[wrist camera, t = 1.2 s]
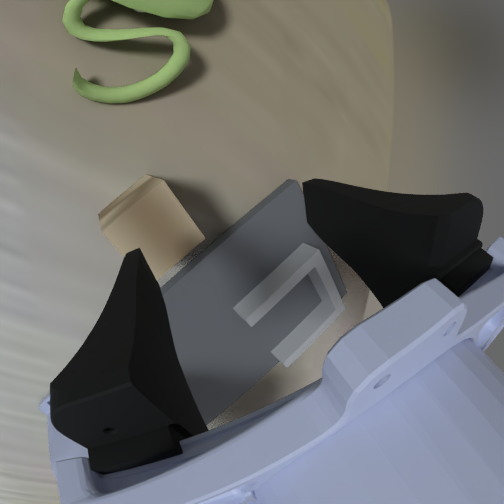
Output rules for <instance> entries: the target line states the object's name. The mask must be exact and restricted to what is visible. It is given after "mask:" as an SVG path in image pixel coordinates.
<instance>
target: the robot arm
mask: <svg viewBox="0 0 504 504" xmlns="http://www.w3.org/2000/svg"><path fill="white" fill-rule="evenodd" d="M302 184H303V192H304V201H305V209H306V218H307V223H308V224H309V226H310V227H311V228H312V229H313V231H314V232H315V233H316V234H317V235H318V237H319V238H320V239H321V240H322V241H323V242H324V243H325V244H327V245H328V246H329V247H330V248H331V249H332V250H333V251H334V252H335V253H336V254H337V255H338V256H340V257H341V258H342V259H343V260H344V261H345V262H346V263H347V264H348V265H349V266H350V267H351V268H352V269H353V270H354V271H355V272H356V273H357V274H358V275H359V276H360V278H361V279H362V280H363V281H364V282H365V284H366V285H367V286H368V287H369V289H370V290H371V291H372V293H373V294H374V295H375V297H376V298H377V299H378V301H379V302H380V303H381V305H382V306H383V309H382V310H380V311H379V312H377V313H375V314H374V315H372V316H370V317H369V318H367V319H366V320H364V321H362V322H361V323H359V324H357V325H356V326H354V327H353V328H352V329H351V330H349V331H348V332H347V333H345V334H344V335H343V336H341V337H340V338H339V339H338V341H337V342H336V343H335V344H334V345H333V347H332V348H331V349H330V350H329V351H328V353H327V356H326V359H325V361H324V364H323V368H322V378H320V379H319V380H317V381H315V382H313V383H311V384H309V385H307V386H306V387H304V388H302V389H300V390H298V391H296V392H294V393H292V394H290V395H288V396H286V397H284V398H282V399H280V400H278V401H276V402H274V403H272V404H270V405H267V406H265V407H263V408H261V409H259V410H257V411H254V412H252V413H250V414H248V415H245V416H243V417H241V418H238V419H236V420H234V421H231V422H229V423H227V424H224V425H222V426H219V427H217V428H214V429H211V430H208V428H207V426H206V424H205V422H204V420H203V418H202V416H201V414H200V411H199V409H198V407H197V405H196V403H195V400H194V398H193V396H192V393H191V391H190V388H189V386H188V383H187V381H186V378H185V376H184V373H183V371H182V368H181V365H180V363H179V360H178V357H177V353H176V350H175V346H174V341H173V337H172V332H171V328H170V323H169V318H168V314H167V309H166V305H165V301H164V298H163V295H162V292H161V289H160V286H159V284H158V282H157V280H156V278H155V276H154V274H153V273H152V271H151V269H150V267H149V265H148V263H147V261H146V259H145V257H144V255H143V253H142V251H141V249H140V247H139V248H137V249H135V250H133V251H130V252H128V253H126V255H125V257H124V260H123V262H122V265H121V268H120V271H119V274H118V276H117V279H116V282H115V284H114V287H113V289H112V292H111V294H110V296H109V299H108V301H107V303H106V305H105V308H104V310H103V312H102V313H101V315H100V317H99V319H98V321H97V323H96V324H95V326H94V328H93V329H92V331H91V332H90V334H89V336H88V337H87V339H86V340H85V342H84V343H83V345H82V346H81V348H80V349H79V350H78V352H77V353H76V354H75V356H74V357H73V358H72V360H71V361H70V362H69V363H68V364H67V366H66V367H65V368H64V369H63V370H62V371H61V372H60V374H59V375H58V376H57V377H56V378H55V379H54V380H53V381H52V382H51V383H50V394H49V395H48V396H47V397H46V398H45V399H44V400H43V401H42V402H41V403H40V404H39V409H40V411H42V412H43V413H45V414H46V415H47V424H48V440H49V452H50V461H51V467H52V470H53V473H54V475H55V477H56V479H57V484H58V491H59V496H60V502H61V504H504V373H503V372H502V371H501V370H500V369H499V368H498V367H497V366H496V365H495V364H494V363H493V362H492V361H491V359H490V358H489V357H488V356H487V355H486V354H484V351H485V350H486V348H487V347H488V346H489V345H490V344H491V342H492V341H493V340H494V339H495V337H496V336H497V335H498V334H499V332H500V331H501V330H502V329H503V327H504V239H503V238H502V237H499V238H498V239H497V240H496V241H494V242H493V243H492V244H491V245H490V246H489V247H488V249H487V251H484V250H483V249H482V248H481V247H482V242H481V241H479V240H478V239H477V237H478V233H479V230H480V226H481V222H482V217H483V205H482V202H481V200H480V199H478V198H477V197H475V196H473V195H472V194H469V193H459V194H447V195H413V194H400V193H392V192H384V191H378V190H373V189H367V188H362V187H357V186H353V185H348V184H343V183H339V182H334V181H329V180H323V179H312V180H309V181H306V182H303V183H302ZM48 401H50V402H48Z"/></svg>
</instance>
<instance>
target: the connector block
mask: <svg viewBox="0 0 504 504" xmlns="http://www.w3.org/2000/svg"><path fill="white" fill-rule="evenodd" d="M98 216H99V221H100V225H101V230H102V233H103V234H104V235H105V236H106V237H107V239H108V240H109V241H110V242H111V243H112V244H113V246H114V247H115V248H116V249H117V250H118V251H119V252H120V254H121V255H122V256H123V257H125V255H126V253H128V252H130V251H133V250H135V249H137V248H139V247H140V249H141V251H142V253H143V255H144V257H145V259H146V261H147V263H148V265H149V267H150V269H151V271H152V273H153V274H154V276H155V278H156V280H158V279H159V278H160V277H162V276H163V275H164V274H165V273H166V272H167V271H168V270H170V269H171V268H172V267H173V266H174V265H175V264H176V263H178V262H179V261H180V260H181V259H182V258H183V257H184V256H186V255H187V254H188V253H189V252H190V251H191V250H193V249H194V248H195V247H196V246H197V245H198V244H200V243H201V242H202V241H203V240H204V239H205V237H204V235H203V234H202V233H201V231H200V230H199V229H198V227H197V226H196V224H195V223H194V222H193V220H192V219H191V218H190V216H189V215H188V213H187V212H186V211H185V209H184V208H183V206H182V205H181V204H180V202H179V201H178V199H177V198H176V197H175V195H174V194H173V192H172V191H171V190H170V188H169V187H168V185H167V184H166V183H165V181H164V180H162V179H159V178H155V177H152V176H149V175H144V176H143V177H142V178H141V179H139V180H138V181H137V182H136V183H134V184H133V185H132V186H131V187H129V188H128V189H127V190H126V191H125V192H123V193H122V194H121V195H120V196H119V197H117V198H116V199H115V200H114V201H113V202H112V203H110V204H109V205H108V206H107V207H106V208H105V209H104V210H102V211H101V212H100V213H99V214H98Z"/></svg>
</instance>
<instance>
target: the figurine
mask: <svg viewBox="0 0 504 504" xmlns="http://www.w3.org/2000/svg"><path fill="white" fill-rule="evenodd" d="M88 1H89V0H70V1H69V2H68V3H67V5H66V6H65V10H64V15H63V19H62V21H63V23H64V26H65V28H66V30H67V32H68V33H69V34H71V35H74V36H76V37H78V38H80V39H83V40H89V41H100V42H109V41H120V40H126V39H131V38H137V37H144V36H151V35H161V36H166V37H167V38H168V39H169V40H171V41H172V42H173V50H174V53H173V54H172V56H171V58H170V59H169V61H168V62H167V64H166V65H165V66H164V67H163V68H161V69H160V70H159V71H158V72H157V73H156V74H154V75H152V76H150V77H149V78H147V79H145V80H142V81H140V82H137V83H135V84H132V85H128V86H123V87H104V86H100V85H96V84H92V83H90V82H89V81H87V80H85V79H83V78H82V77H81V75H80V74H79V72H78V70H77V68H76V69H75V73H74V79H73V87H74V88H75V89H76V91H77V92H78V93H79V94H80V96H83V97H85V98H88V99H90V100H92V101H97V102H102V103H108V104H110V103H127V102H131V101H135V100H140V99H142V98H144V97H147V96H149V95H151V94H154V93H156V92H157V91H159V90H161V89H163V88H164V87H166V86H168V85H169V84H170V83H171V82H172V81H173V80H174V79H175V78H176V77H177V76H179V75H180V74H181V72H182V71H183V69H184V68H185V66H186V65H187V63H188V62H189V60H190V51H191V45H190V44H189V42H188V41H187V40H186V38H185V37H184V36H183V34H182V33H181V32H179V31H176V30H172V29H167V28H162V27H151V28H135V29H121V30H113V29H96V28H93V27H90V26H87V25H84V23H83V21H82V20H81V18H80V15H81V11H82V7H83V6H84V5H85V4H86V3H87V2H88ZM112 1H114V2H117V3H119V4H122V5H124V6H126V7H129V8H132V9H134V10H135V11H137V12H148V13H151V14H155V15H158V16H161V17H165V18H181V19H195V18H197V17H200V16H202V15H204V14H207V13H209V12H210V10H211V7H212V4H213V1H214V0H112Z"/></svg>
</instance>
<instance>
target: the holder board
mask: <svg viewBox="0 0 504 504" xmlns="http://www.w3.org/2000/svg"><path fill="white" fill-rule="evenodd" d="M160 289H161V292H162V295H163V298H164V301H165V305H166V309H167V314H168V318H169V323H170V328H171V332H172V337H173V341H174V346H175V350H176V353H177V357H178V360H179V363H180V365H181V368H182V371H183V373H184V376H185V378H186V381H187V383H188V386H189V388H190V391H191V393H192V396H193V398H194V400H195V403H196V405H197V407H198V409H199V411H200V414H201V416H202V418H203V420H204V422H205V424H206V425H207V424H208V423H209V422H211V421H212V420H213V419H214V418H216V417H217V416H218V415H219V414H220V413H222V412H223V411H224V410H225V409H226V408H228V407H229V406H230V405H231V404H232V403H233V402H235V401H236V400H237V399H238V398H239V397H240V396H242V395H243V394H244V393H245V392H246V391H247V390H248V389H250V388H251V387H252V386H253V385H254V384H255V383H256V382H257V381H258V380H260V379H261V378H262V377H263V376H264V375H265V374H266V373H267V372H268V371H269V370H271V369H272V368H273V367H274V366H275V365H276V364H277V363H278V362H279V361H280V362H281V363H282V364H283V365H284V366H285V367H286V368H288V367H289V366H290V365H291V364H292V363H293V362H294V361H295V360H296V359H297V358H298V357H299V356H300V355H301V354H302V353H303V352H304V351H305V350H306V349H307V348H308V347H309V346H310V345H311V344H312V343H313V342H314V341H315V340H316V339H317V338H318V337H319V336H320V335H321V334H322V333H323V332H324V331H325V330H326V329H327V328H328V327H329V325H330V324H331V323H332V322H333V321H334V320H335V319H336V318H337V317H338V316H339V315H340V314H341V313H342V312H343V311H344V309H345V306H344V304H343V301H342V299H341V298H342V297H343V296H344V295H345V294H346V293H347V292H346V290H345V287H344V285H343V282H342V280H341V278H340V275H339V273H338V270H337V268H336V266H335V263H334V261H333V259H332V257H331V254H330V252H329V250H328V247H327V245H326V244H325V243H324V242H323V241H322V240H321V239H320V238H319V237H318V235H317V234H316V233H315V232H314V231H313V229H312V228H311V227H310V226H309V224H308V223H307V218H306V209H305V201H304V196H303V193H302V191H301V189H300V187H299V185H298V183H297V181H296V180H291V179H288V180H287V181H286V182H284V183H283V184H282V185H281V186H279V187H278V188H277V189H276V190H275V191H273V192H272V193H271V194H270V195H268V196H267V197H266V198H265V199H264V200H262V201H261V202H260V203H259V204H258V205H256V206H255V207H254V208H253V209H252V210H250V211H249V212H248V213H247V214H246V215H244V216H243V217H242V218H241V219H240V220H239V221H237V222H236V223H235V224H234V225H233V226H231V227H230V228H229V229H228V230H227V231H226V232H224V233H223V234H222V235H221V236H220V237H219V238H217V239H216V240H215V241H214V242H213V243H212V244H210V245H209V246H208V247H207V248H206V249H205V250H203V251H202V252H201V253H200V254H199V255H198V256H196V257H195V258H194V259H193V260H192V261H191V262H190V263H188V264H187V265H186V266H185V267H184V268H183V269H182V270H180V271H179V272H178V273H177V274H176V275H175V276H174V277H172V278H171V279H170V280H169V281H168V282H167V283H166V284H165V285H163V286H162V287H161V288H160Z"/></svg>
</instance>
